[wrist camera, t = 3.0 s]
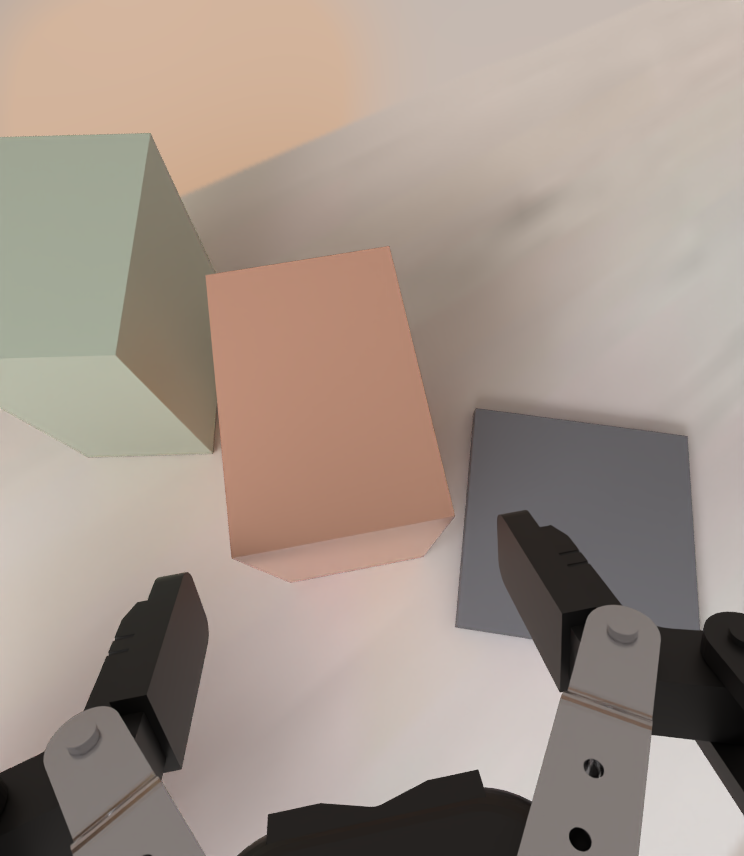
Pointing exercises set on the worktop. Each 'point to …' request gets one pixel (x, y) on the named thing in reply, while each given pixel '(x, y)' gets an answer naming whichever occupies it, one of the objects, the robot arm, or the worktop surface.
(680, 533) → the felt coaster
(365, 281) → the salmon orange block
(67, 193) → the sage green block
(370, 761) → the worktop surface
